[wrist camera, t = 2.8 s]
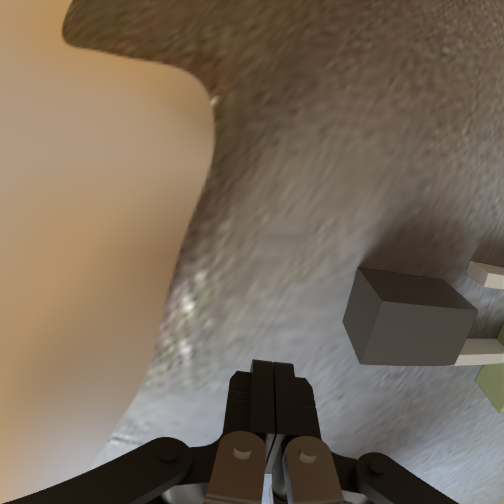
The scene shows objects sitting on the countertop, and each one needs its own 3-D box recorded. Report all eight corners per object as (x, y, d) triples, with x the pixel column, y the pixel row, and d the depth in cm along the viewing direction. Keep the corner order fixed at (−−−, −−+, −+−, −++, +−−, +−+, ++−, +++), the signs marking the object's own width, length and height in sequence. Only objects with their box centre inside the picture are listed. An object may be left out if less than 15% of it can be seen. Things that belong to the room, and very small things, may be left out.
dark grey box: (442, 279, 20) (478, 310, 15) (425, 327, 21) (454, 365, 16) (356, 266, 20) (382, 301, 15) (342, 321, 21) (360, 364, 16)
